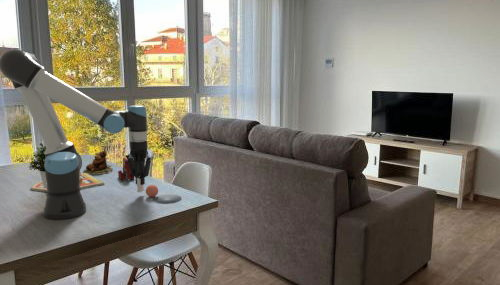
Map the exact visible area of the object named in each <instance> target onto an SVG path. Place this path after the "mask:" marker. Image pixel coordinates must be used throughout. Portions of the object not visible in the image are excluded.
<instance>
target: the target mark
mask: <svg viewBox="0 0 500 285" xmlns="http://www.w3.org/2000/svg"><path fill="white" fill-rule="evenodd" d="M181 200H182V196H181V195H178V194H171V193H170V194H167V193H166V194H161V195H158V196H157V195H156V196H154V197H153V201H154V202H155V203H158V204H175V203H177V202H181Z"/></svg>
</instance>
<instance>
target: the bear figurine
mask: <svg viewBox="0 0 500 285" xmlns="http://www.w3.org/2000/svg"><path fill="white" fill-rule="evenodd" d="M106 157H107V152H106V149H104V150H102V151H99V152H96V154H95V155H94V158H93V159H92V162H91V163H89V164H87V165H86V166H85V169H84V170H83V171H82V173H87V174H89V175H91V176H92V175H105V174H107V173H108V174H111V173H112V170H113V167H112V165H110V164H107V158H106Z"/></svg>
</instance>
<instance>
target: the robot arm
mask: <svg viewBox="0 0 500 285" xmlns="http://www.w3.org/2000/svg"><path fill="white" fill-rule="evenodd" d="M0 72H1V73H2V75H3V76H4V77H5V78H7V79H8V80H10V81H11V84H12V85H13V88H14V90H15V91H18V92H19V93H20V94H21V95H22V97H23V100H24V102H25V104H26V106H27V109H28V111H29V112H30V115H31V117H32V120H33V122H34V124H35V126H36V128H37V130H38V133H39V135H40V137H41V140H42V141H43V145H44V146H45V150H44V152H43V154H44V156H45V158H44V164H43V166H44V172H45V180H46V185H47V192H46V193H47V194H46V200H45V206H44V208H43V217H44V218H45V219H48V220H67V219H72V218H77V217H78V216H81V215H83V214H84V213H85V212H87V204H86V203H85V200H84V198H83V195H82V194H81V189H80V181H79V172H81V169H82V167H83V159H82V156H81V154H80V153H79V152H78V151H77V149H76V147H75V144H74V143H73V142H72V141H69V140H68V138H67V136H66V132H65V131H64V128H63V126H62V124H61V122H60V121H61V120H59V117H58V114H57V112H56V110H55V108H54V105H53V103H52V101H51V99H52V100H54V101H55V102H57V103H58V104H60V105H63V106H64V107H66V108H68V109H70V110H71V111H73V112H75V113H77V114H78V115H80V116H82V117H83V118H85V119H87V120H89V121H90V122H92V123H95V124H96V125H97V126H99V127H100V128H101V129H104V130H105V131H107V133H109V134H113V135H114V134H116V135H117V134H119V133H121V132H122V131H123V129H127V128H129V129H128V130H129V135H128V136H129V149H130V152H129V153H128V154H125V158H126V159H127V160H128V163H129V167H130V171H131V175H132V176H134V179H135V185H136V189H137V191H136V192H137V193H142V192H144V188H145V187H144V186H145V183H146V182H145V181H146V180H145V178H146V177H149V174H150V169H151V163H152V160H153V159H154V156H153V155H149V152H148V145H149V144H148V123H147V122H148V121H147V120H148V116H147V108H146V107H145V105H129V106H128V108H127V109H125V110H111V109H110V108H108V107H107V106H104V105H103V104H101V103H99V102H98V101H96V100H94V99H93V98H91V97H89V96H88V95H87V94H84V93H83V92H81V91H80V90H78V89H76V88H75V87H72V86H71V85H69V84H67V83H65V82H64V81H63V80H61V79H59V78H57V77H56V76H54V75H52V74H51V73H48V71H46V68H45V67H44V66H42V63H41V61H40V59H39V58H38V57H37V56H36V55H35V54H34V53H32V52H30V51H27V50H21V49H10V50H7V51H6V52H4V53H3V54H2V55H0Z"/></svg>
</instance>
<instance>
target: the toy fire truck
mask: <svg viewBox="0 0 500 285" xmlns="http://www.w3.org/2000/svg"><path fill="white" fill-rule="evenodd" d="M117 176H118V178H119V181H121V182H122V181H124V180H132V181H133V180H135V177H134V176H132V175H131V171H130V167H129V163H128V160H127V158H126V157H122V170H118V171H117Z"/></svg>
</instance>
